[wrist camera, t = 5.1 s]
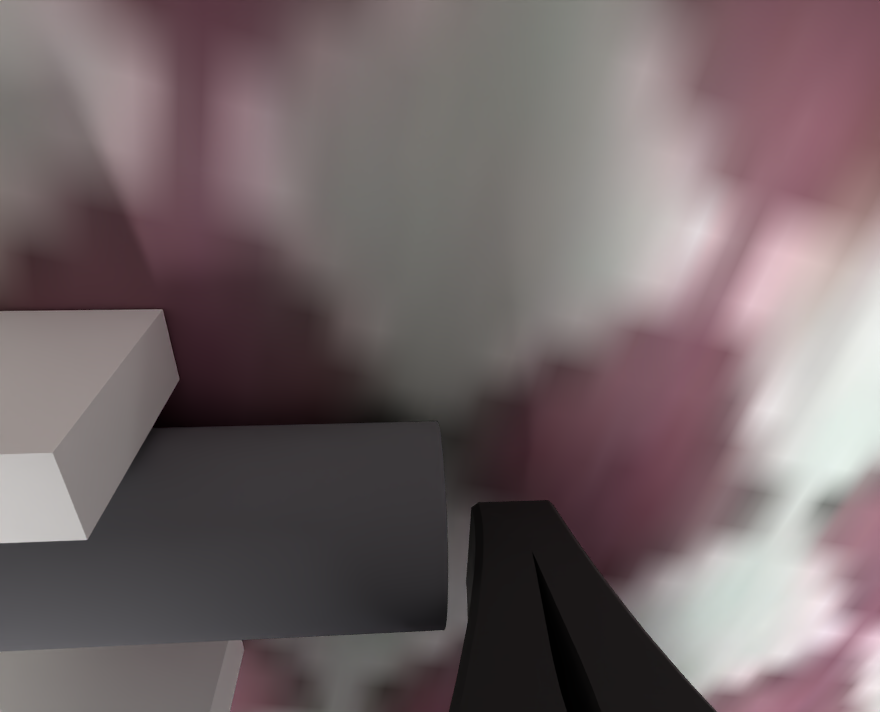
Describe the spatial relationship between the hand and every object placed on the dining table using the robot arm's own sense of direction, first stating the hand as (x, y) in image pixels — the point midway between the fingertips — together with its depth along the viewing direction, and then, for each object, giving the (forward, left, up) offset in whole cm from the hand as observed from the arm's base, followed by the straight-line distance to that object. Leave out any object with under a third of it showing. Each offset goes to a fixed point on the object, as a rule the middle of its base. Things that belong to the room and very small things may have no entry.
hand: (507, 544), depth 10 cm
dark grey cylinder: (+5, 0, 0) cm, 5 cm away
